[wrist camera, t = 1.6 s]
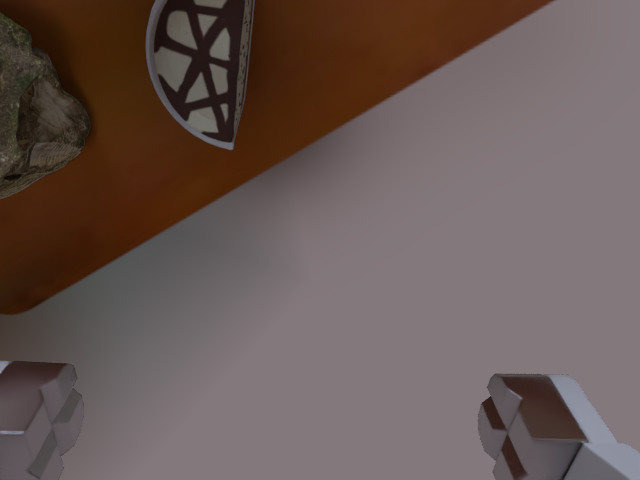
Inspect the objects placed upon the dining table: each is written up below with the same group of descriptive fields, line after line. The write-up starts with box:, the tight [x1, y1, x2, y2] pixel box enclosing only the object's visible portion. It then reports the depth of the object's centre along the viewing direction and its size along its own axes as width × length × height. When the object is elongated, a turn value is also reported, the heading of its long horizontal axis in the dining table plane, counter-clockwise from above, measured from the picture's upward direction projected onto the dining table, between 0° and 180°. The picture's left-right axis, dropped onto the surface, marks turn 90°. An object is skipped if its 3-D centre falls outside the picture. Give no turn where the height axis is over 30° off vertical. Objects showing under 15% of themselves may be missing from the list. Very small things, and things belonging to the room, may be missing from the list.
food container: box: [145, 0, 255, 150], centre depth 34 cm, size 12×6×10 cm, turn 170°
